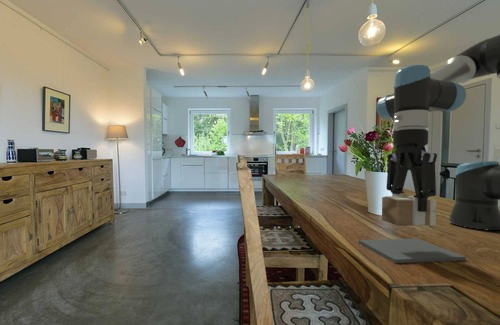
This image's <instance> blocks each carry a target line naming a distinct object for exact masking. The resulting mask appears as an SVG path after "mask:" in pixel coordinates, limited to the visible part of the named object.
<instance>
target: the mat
mask: <svg viewBox="0 0 500 325" xmlns="http://www.w3.org/2000/svg"><path fill="white" fill-rule="evenodd" d="M358 244H360V245H361V246H363V247H365V248H367V249H369V250H371V251H372V252H374V253H376V254H377V255H379V256H381V257H383V258H384V259H386V260H389V262H392V263H394V264H408V263H410V264H411V263H429V262H430V263H432V262H435V263H437V262H456V261H458V262H459V261H467V257H466V256H465V255H462V254H460V253H457V252H455V251H452V250H449V249H446V248H444V247H441V246H439V245H436V244H432V243H430V242H427V241H425V240H422V239H420V238H392V239H391V238H388V239H387V238H386V239H385V238H384V239H383V238H382V239H359V240H358Z"/></svg>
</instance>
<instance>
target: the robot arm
mask: <svg viewBox="0 0 500 325" xmlns="http://www.w3.org/2000/svg"><path fill="white" fill-rule="evenodd" d="M492 74H496V78H498V79H500V34H497V35H495V36H492V37H489V38H486V39H484V40H481V41H479V42H478V43H475V44H474V45H472V46H470V47H469V48H466V49H465V50H463V51H462V52H460V53H458V54H456V55H455V56H453V57H451V58H450V59H448V60H447V62H446V63H445V64H444V65H443V66H442V67H440V68H438V69H436V70H434V71H432V72H431V70H430V68H429V66H428V65H425V64H413V65H407V66H405V67H403V68H400V69H399V70H398V71H397V72H396V73H395V76H394V84H393V90H394V92H393V93H392V94H387V95H385V96H383V97H381V98H380V99H378V101H377V102H376V112H377V114H378V117H380V118H381V119H383V120H391V119H392V120H393V129H394V132H393V133H392V145H394V146H395V147H396V148H395V152H394V153H392V154H387V156H386V158H387V163H388V164H387V173H386V174H387V176H386V186H385V188H386V190H387V191H390V192H391V194H392V196H405V191H404V187H405V183H406V179H407V176H408V172H409V171H410V173H411V178H412V183H413V188H414V192H415V195H413V219H412V225H419V226H426V225H425V212H426V211H427V199H428V198H430V197H435V196H437V188H436V187H437V185H436V184H437V183H436V181H437V180H436V162H437V158H438V154H437V153H435V152H429V151H427V149H426V146H427V145H428V144H429V130H428V128H429V127H430V126H429V125H430V121H429V120H430V112H441V113H444V112H454V111H456V110H457V109H459V108H461V107H462V105H463V104H464V103H465V100H466V99H467V98H466V97H467V91H466V89H465V87H464V86H463V85H461V84H464V83H467V82H469V81H470V80H472V79H473V80H474V79H477V78H481V77H485V76H490V75H492ZM454 177H455V202H454V205H453V207H452V210H451V212H450V214H449V216H448V217H449V218H448V222H449V221H450V222H452V223H454V224H457V225H461V226H466V227H471V228H478V229H488V230H500V208H499V200H500V162H499V161H497V160H496V161H495V160H492V161H491V160H490V161H489V160H487V161H472V162H465V163H460V164H459V165H457V166H456V170H455V175H454Z"/></svg>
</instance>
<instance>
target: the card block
mask: <svg viewBox="0 0 500 325" xmlns="http://www.w3.org/2000/svg"><path fill="white" fill-rule="evenodd" d="M413 196H414V195H413ZM413 196H412V195H411V196H408V195H407V196H391V195H389V196H387V195H386V196H382V198H381V221H384V222H387V223H389V224H392V225H395V226H398V227H402V226H403V227H407V226H409V227H411V226H418V227H419V226H420V225H412V219H413ZM436 220H437V200H436V199H433V198H430V197H428V199H427V211H426V212H425V225H424V226H430V227H431V226H432V227H433V226H437V221H436Z"/></svg>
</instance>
